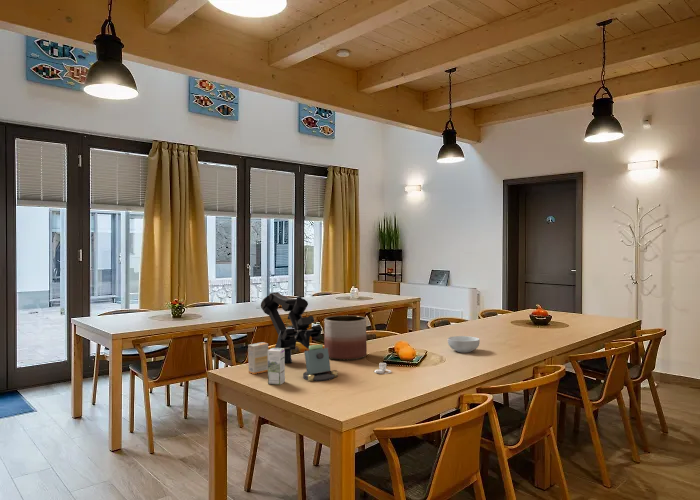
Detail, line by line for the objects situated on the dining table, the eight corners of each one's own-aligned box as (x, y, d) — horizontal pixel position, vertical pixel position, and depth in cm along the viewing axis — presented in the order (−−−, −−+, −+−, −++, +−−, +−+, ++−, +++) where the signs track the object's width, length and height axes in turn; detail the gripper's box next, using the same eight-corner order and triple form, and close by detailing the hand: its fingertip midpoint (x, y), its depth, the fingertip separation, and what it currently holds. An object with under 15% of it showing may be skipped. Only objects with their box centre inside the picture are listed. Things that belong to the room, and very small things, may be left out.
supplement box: (262, 369, 237) (262, 341, 236) (268, 371, 233) (268, 343, 233) (247, 372, 231) (247, 344, 231) (253, 374, 227) (253, 345, 227)
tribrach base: (295, 375, 226) (295, 369, 226) (323, 370, 234) (323, 365, 234) (312, 383, 213) (312, 377, 213) (341, 377, 221) (341, 372, 221)
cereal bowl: (477, 348, 282) (477, 335, 282) (481, 354, 265) (481, 341, 265) (446, 347, 284) (446, 335, 284) (449, 354, 267) (449, 341, 267)
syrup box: (285, 381, 216) (285, 347, 216) (280, 385, 210) (280, 350, 210) (272, 380, 217) (272, 347, 217) (267, 384, 211) (267, 350, 211)
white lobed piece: (379, 375, 226) (379, 366, 226) (369, 372, 233) (369, 363, 233) (394, 373, 231) (394, 364, 231) (384, 369, 237) (384, 360, 237)
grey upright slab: (307, 374, 222) (303, 346, 224) (326, 370, 227) (323, 344, 230) (313, 373, 217) (309, 345, 220) (332, 370, 223) (329, 343, 225)
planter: (334, 363, 249) (333, 322, 249) (318, 354, 269) (318, 316, 269) (373, 358, 258) (373, 319, 258) (355, 350, 278) (355, 314, 278)
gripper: (284, 311, 230) (295, 339, 221) (320, 308, 240) (332, 335, 231) (277, 326, 237) (288, 354, 228) (312, 323, 247) (323, 349, 238)
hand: (308, 347), depth 231 cm, fingers closed
